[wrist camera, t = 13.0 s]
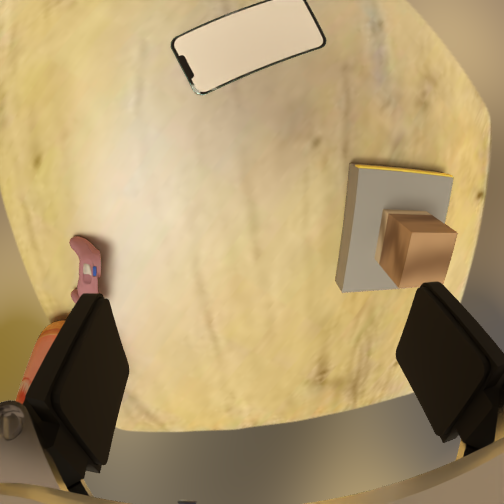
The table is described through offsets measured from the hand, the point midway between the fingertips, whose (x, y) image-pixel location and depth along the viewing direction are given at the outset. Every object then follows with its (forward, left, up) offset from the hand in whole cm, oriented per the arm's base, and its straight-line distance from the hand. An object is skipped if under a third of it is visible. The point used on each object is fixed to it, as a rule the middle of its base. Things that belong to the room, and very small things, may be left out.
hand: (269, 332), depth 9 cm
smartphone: (-14, +1, -29) cm, 32 cm away
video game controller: (+13, -20, -29) cm, 37 cm away
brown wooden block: (+8, +20, -25) cm, 33 cm away
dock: (+8, +20, -28) cm, 36 cm away
